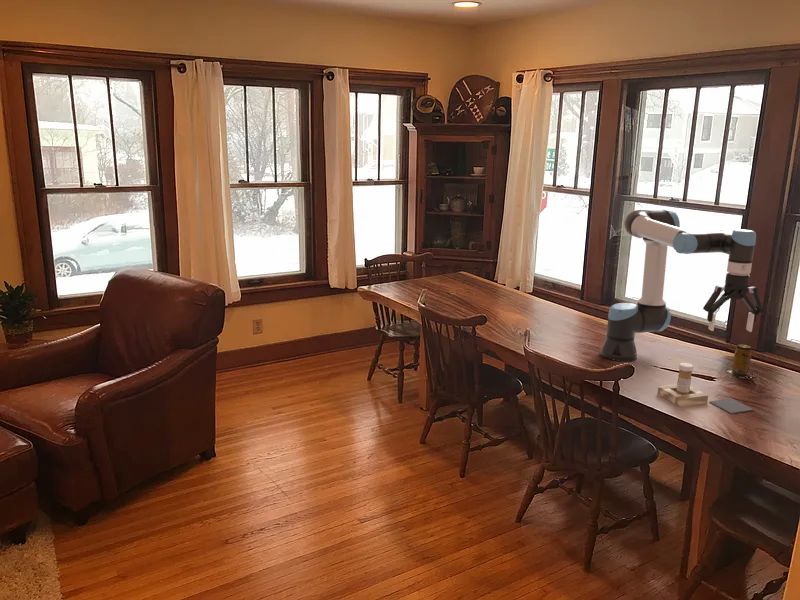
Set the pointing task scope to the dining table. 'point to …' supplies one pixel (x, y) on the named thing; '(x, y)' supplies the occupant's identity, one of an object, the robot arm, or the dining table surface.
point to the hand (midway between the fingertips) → (729, 330)
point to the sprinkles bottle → (684, 378)
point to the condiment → (741, 361)
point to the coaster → (731, 406)
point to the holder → (682, 396)
